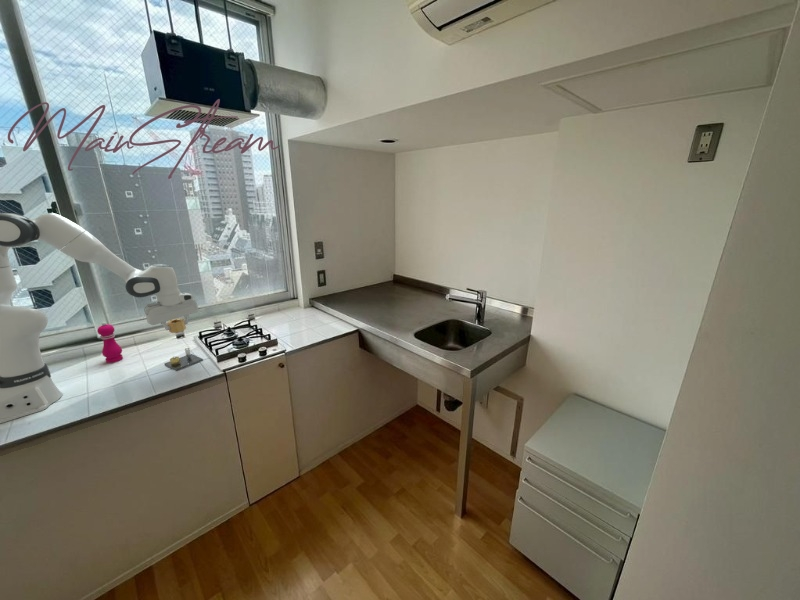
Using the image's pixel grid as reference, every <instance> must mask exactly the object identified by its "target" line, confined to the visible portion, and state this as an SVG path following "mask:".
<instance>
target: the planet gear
mask: <svg viewBox="0 0 800 600" xmlns="http://www.w3.org/2000/svg"><path fill="white" fill-rule="evenodd" d="M166 325H167V326H170V328H171V329H170V330H168V332H170V334H174V333H181V332H184V331H185V330H186V329H187V327H186V326H187V325H185V322H184V319H183V318H176V319H172V320H169V321H167V322H166Z"/></svg>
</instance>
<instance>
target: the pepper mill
mask: <svg viewBox="0 0 800 600" xmlns="http://www.w3.org/2000/svg"><path fill="white" fill-rule="evenodd" d="M97 334H98V335H100V340H102V342H103V347H102V350H101V352H102V357H105V362H106V363H107V364H113V363H117V362H120V361H122V360H123V359H124V356H123V354H122V352H123V348H122V347H121V346H120V345H119V344H118V343H117V342H116V339H115V337H116V335H115V327H114V326H113V325H112V324H108V323H107V322H105V321H102V322H101V325H100V326H98V328H97Z"/></svg>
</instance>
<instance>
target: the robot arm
mask: <svg viewBox="0 0 800 600" xmlns="http://www.w3.org/2000/svg"><path fill="white" fill-rule="evenodd" d="M34 241H42V242H44V243H46V244H48V245H49V246H52V247H53V248H55V249H56V250H58V251H60V252H61V253H63V254H65V255H67V256H68V257H70V258H72V259H74V260H76V261H79V262H83V263H91V264H97V265H100V266H101V267H104V268H106V269H107V270H108V271H110V272H112V273H114V274H116V275H117V276H118V277H120V278H122V280H124V282H125V291H126V292H127V293H128V294H129V295H130V296H132V297H135V298H146V297H149V296H152V295H156V298H157V301H156V302H153V303H148V304H147V305H146V306H144V308H143V310H144V314H145V315H146V322H147V323H148V325H151V326H155V325H158V324H160V325H162V326H163V327H164V330H165V331H169V330H170V329H171V328H170V326H168V325H167V322H169V321H171V320H174V319H180V318H183V317H184V322H185V326H187V325H188V324H189V322H188V321H189V318H190V315H192V314H195V313H198V311H199V306H198V304H197V301H196V299H194V298H195V297H194V294H191V293H188V292H181V290H180V288H179V286H178V285H179V284H178V283H179V282H178V278H177V275H176V274H177V273H176V272H175V269H174V268H173V266H171V265H169V264H165V263H154V264H151V265H150V266H149V267H148V268H145V269H143V268H142V269H141V268H137V267H135V266H133V265H132V264H129V263H128V262H127V261H126V260H124V259H122V258H121V257H120V256H118V255H116V254H115V253H114V252H112V251H111V250H110V249H109V248H107V247H106V246H105V244H104V243H102V242H101V241H100V240H99V239H98V238H97V237H96V236H94V235H93V234H92V233H90V232H89V231H88V230H86V229H85V228H83V227H82V226H80V225H79V224H77V223H75V222H74V221H72V220H70V219H68V218H67V217H64V216H62V215H60V214H59V213H58V214H57V213H54V212H48V213H45V214H44V213H43V214H41V215H39V216H38V217H36V218H34V219H30V218H28V217H27V216H25V215H22V214H18V213H17V214H16V213H11V212H10V213H9V212H3V213H1V212H0V424H3V423H6V422H10V421H13V420H15V419H18V418H22V417H25V416H28V415H33V414H35V413H37V412H38V413H39V412H41V411H44V410H45V409H47V408H49V407H50V406H51V405H52V404H53V403H55V402H57V401H59V400H60V399H61V398H62V396H63V392H61V390H59V389H58V387H57V385H56V384H55V383H54V381H53V379H52V378H51V377H52V375H51V371H50V368H49V365H48V364H46V363H45V361H44V359H43V355H42V352H41V349H40V336H41V333H42V332H43V331H44V330H45V329H46V328H47V326H48V322H49V321H48V317H47V315H46V314H45V312H43V311H42V310H40V309H36V308H33V307H28V306H21V305H11V297H12V294H13V292H15V291H16V290H17V288H18V284H17V280H16V278H15V273H14V272H13V268H12V266H11V262H10V259H9V256H8V252H9V249H10V248H13V247H21V246H25V245H28V244H29V243H32V242H34Z"/></svg>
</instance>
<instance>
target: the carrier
mask: <svg viewBox="0 0 800 600" xmlns="http://www.w3.org/2000/svg"><path fill="white" fill-rule="evenodd" d="M190 350H191V349H190V348H189V347H186V348H184V351H185V355H184V356H180V357H179V356H172V357H171V358H169V361H167V362H165V363H164V366H166V367H167V368H169V369H171V370H172V371H175V372H178V371H181V370H184V369H186V368H189V367H191V366H194V365H196V364H198V363H201V362H204V358H203V357H200V356H198V355H195V354H193V353H191V351H190Z"/></svg>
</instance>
